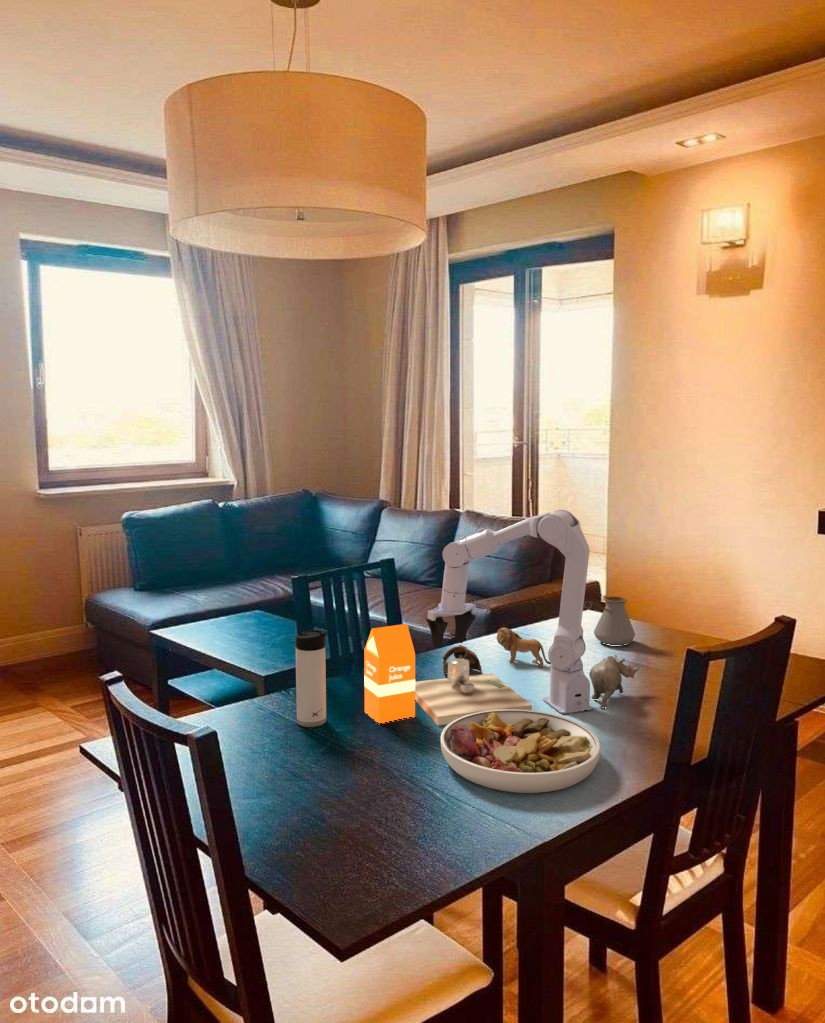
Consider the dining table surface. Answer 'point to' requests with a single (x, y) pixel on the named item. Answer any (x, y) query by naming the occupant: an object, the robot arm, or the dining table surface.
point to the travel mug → (311, 678)
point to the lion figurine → (520, 645)
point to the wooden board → (466, 698)
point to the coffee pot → (613, 622)
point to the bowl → (520, 750)
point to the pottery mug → (463, 654)
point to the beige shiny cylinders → (460, 674)
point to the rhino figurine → (609, 677)
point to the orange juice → (389, 674)
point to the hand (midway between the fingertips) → (448, 644)
